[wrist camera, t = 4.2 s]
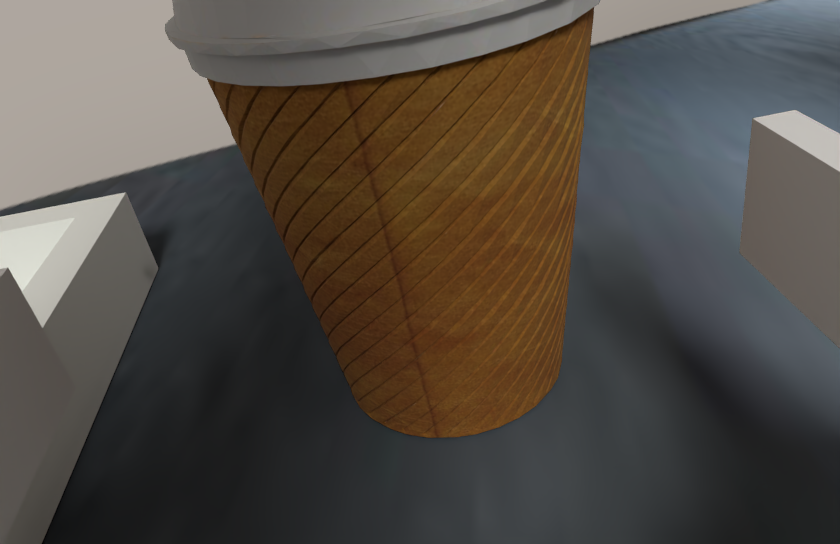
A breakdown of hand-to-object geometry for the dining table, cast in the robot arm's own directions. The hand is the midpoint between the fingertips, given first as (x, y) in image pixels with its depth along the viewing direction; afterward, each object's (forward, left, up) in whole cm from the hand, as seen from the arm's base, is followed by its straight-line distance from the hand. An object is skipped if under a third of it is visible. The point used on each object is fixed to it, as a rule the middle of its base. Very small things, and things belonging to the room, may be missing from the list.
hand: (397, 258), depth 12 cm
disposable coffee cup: (-1, -5, -7) cm, 9 cm away
